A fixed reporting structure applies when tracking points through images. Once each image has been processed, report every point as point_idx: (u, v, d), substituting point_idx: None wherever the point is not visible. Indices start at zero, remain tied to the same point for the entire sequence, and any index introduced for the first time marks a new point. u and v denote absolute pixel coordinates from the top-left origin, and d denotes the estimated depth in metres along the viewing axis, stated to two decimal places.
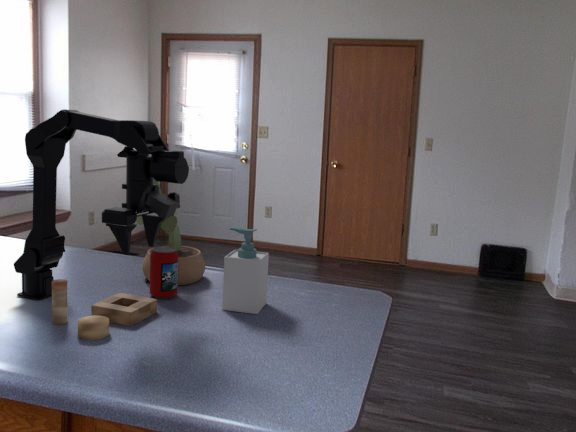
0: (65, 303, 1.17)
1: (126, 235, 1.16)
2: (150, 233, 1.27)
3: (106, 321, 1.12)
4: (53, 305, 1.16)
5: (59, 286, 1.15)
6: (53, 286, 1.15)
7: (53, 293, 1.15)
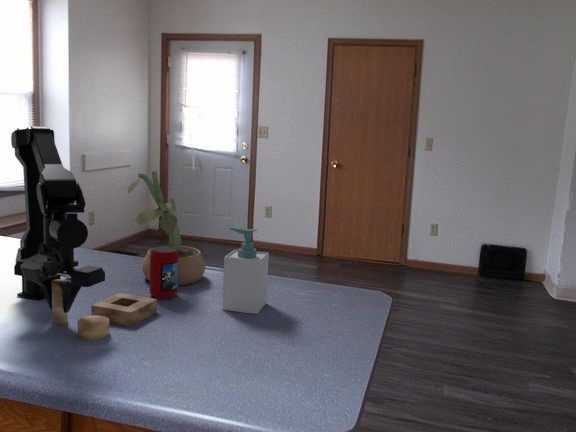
0: None
1: None
2: None
3: (106, 321, 1.12)
4: (53, 305, 1.16)
5: (58, 286, 1.15)
6: (53, 286, 1.15)
7: (53, 293, 1.15)
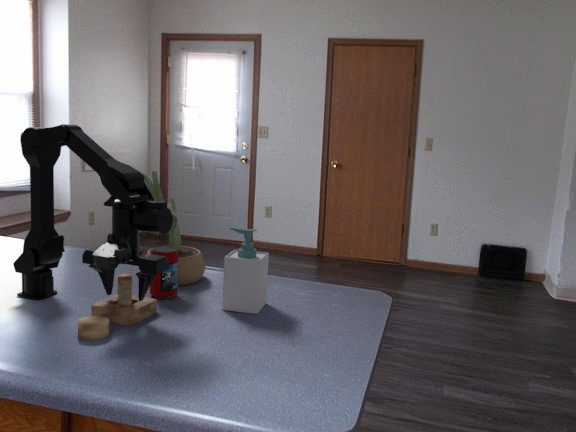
0: (130, 297, 1.23)
1: None
2: None
3: (106, 321, 1.12)
4: (119, 298, 1.22)
5: (125, 280, 1.21)
6: (119, 280, 1.22)
7: (119, 287, 1.22)
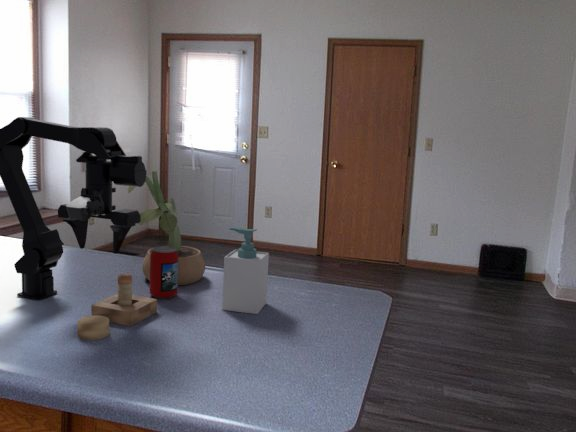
0: (130, 297, 1.23)
1: None
2: None
3: (106, 321, 1.12)
4: (119, 298, 1.22)
5: (125, 280, 1.21)
6: (119, 280, 1.22)
7: (119, 287, 1.22)
